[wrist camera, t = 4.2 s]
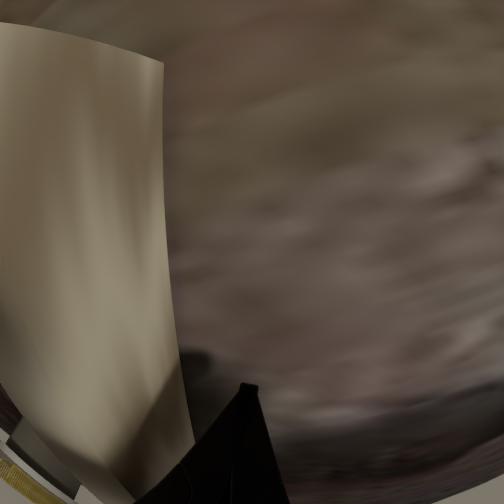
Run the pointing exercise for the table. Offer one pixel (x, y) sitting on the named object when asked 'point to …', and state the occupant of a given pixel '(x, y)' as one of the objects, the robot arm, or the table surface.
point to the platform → (36, 468)
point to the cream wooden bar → (88, 261)
